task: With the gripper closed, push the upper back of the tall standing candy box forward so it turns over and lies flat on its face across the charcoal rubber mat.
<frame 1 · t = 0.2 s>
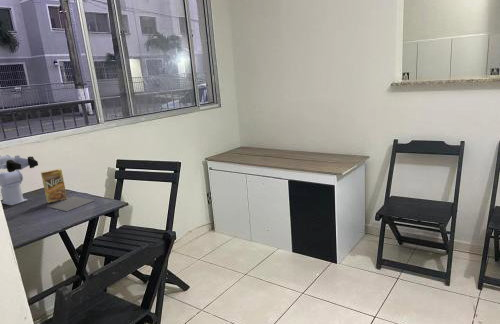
hand: (28, 165, 170), 21 cm above the table, tool horizontal, fingers open, 7 cm apart
candy box: (57, 200, 183), on the table, touching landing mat
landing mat: (70, 203, 177), on the table
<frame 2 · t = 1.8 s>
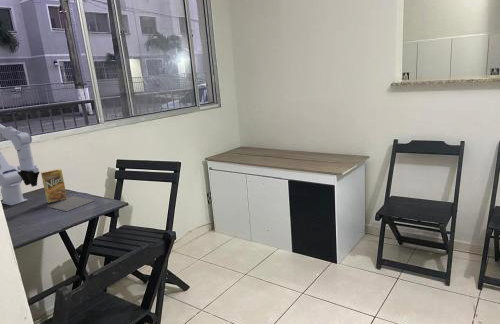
hand: (31, 185, 177), 10 cm above the table, tool pointing down, fingers open, 5 cm apart
nothing on the table moved.
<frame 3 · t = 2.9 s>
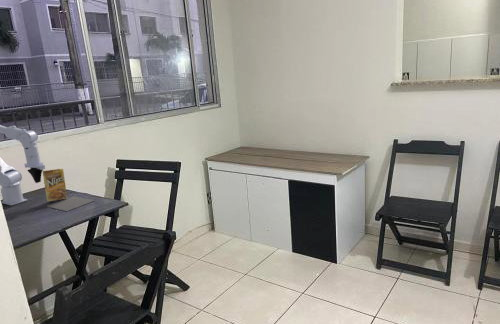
hand: (38, 182, 181), 10 cm above the table, tool pointing down, fingers closed
candy box: (57, 200, 183), on the table, touching gripper
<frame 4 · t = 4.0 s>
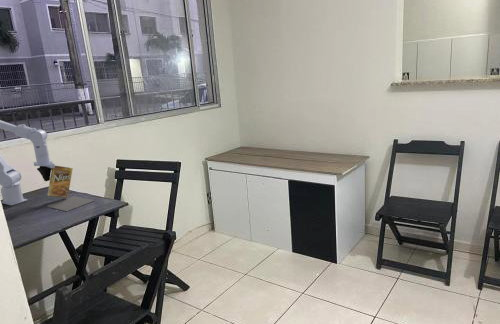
hand: (47, 180, 183), 10 cm above the table, tool pointing down, fingers closed
candy box: (57, 197, 183), point 2 cm above the table, touching gripper
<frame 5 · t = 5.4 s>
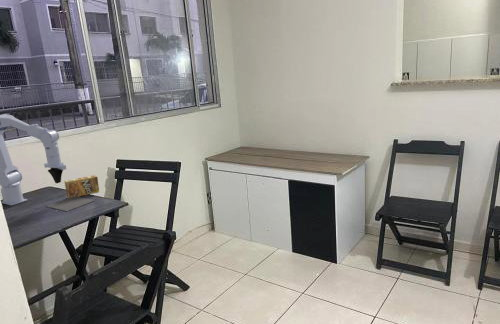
hand: (58, 182, 179), 10 cm above the table, tool pointing down, fingers closed
candy box: (65, 189, 184), point 5 cm above the table, touching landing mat
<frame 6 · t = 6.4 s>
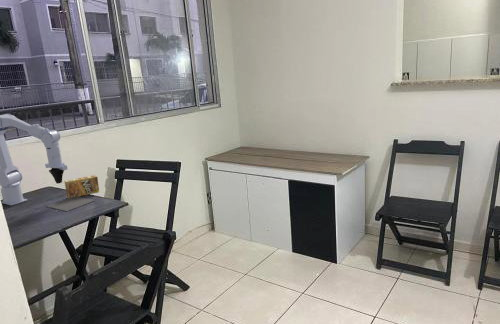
hand: (59, 182, 178), 10 cm above the table, tool pointing down, fingers closed
nothing on the table moved.
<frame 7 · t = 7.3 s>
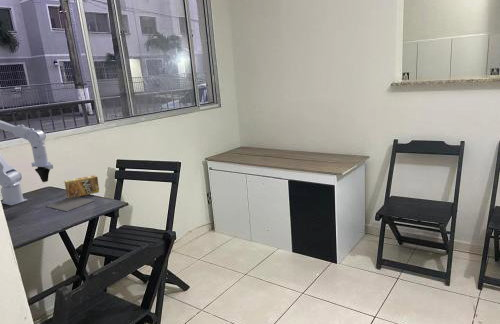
hand: (45, 181, 182), 10 cm above the table, tool pointing down, fingers closed
nothing on the table moved.
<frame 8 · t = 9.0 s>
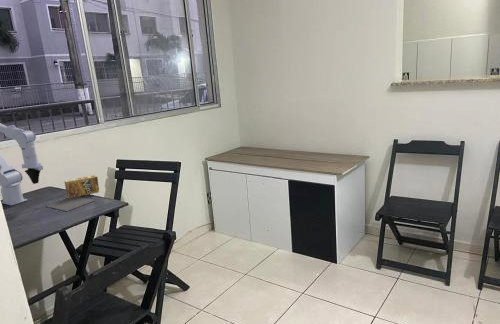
hand: (35, 183, 178), 10 cm above the table, tool pointing down, fingers closed
nothing on the table moved.
at the end: candy box tilted 92°; candy box inside the target area (5.2 cm from its centre), point 4.8 cm above the table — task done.
